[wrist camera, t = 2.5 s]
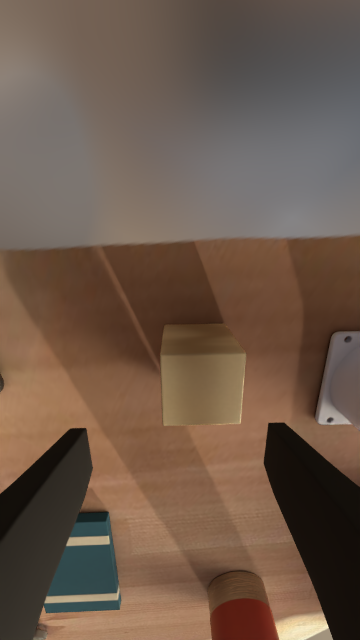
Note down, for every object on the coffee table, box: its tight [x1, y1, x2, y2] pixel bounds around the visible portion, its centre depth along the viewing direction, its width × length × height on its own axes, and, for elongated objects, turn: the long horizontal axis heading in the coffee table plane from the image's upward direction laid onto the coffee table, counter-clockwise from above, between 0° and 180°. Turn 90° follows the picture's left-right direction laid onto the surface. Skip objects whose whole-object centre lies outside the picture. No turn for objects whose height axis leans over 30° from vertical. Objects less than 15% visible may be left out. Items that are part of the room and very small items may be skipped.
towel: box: [44, 512, 121, 613], centre depth 23 cm, size 8×14×1 cm, turn 0°
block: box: [160, 324, 246, 426], centre depth 14 cm, size 4×4×5 cm
